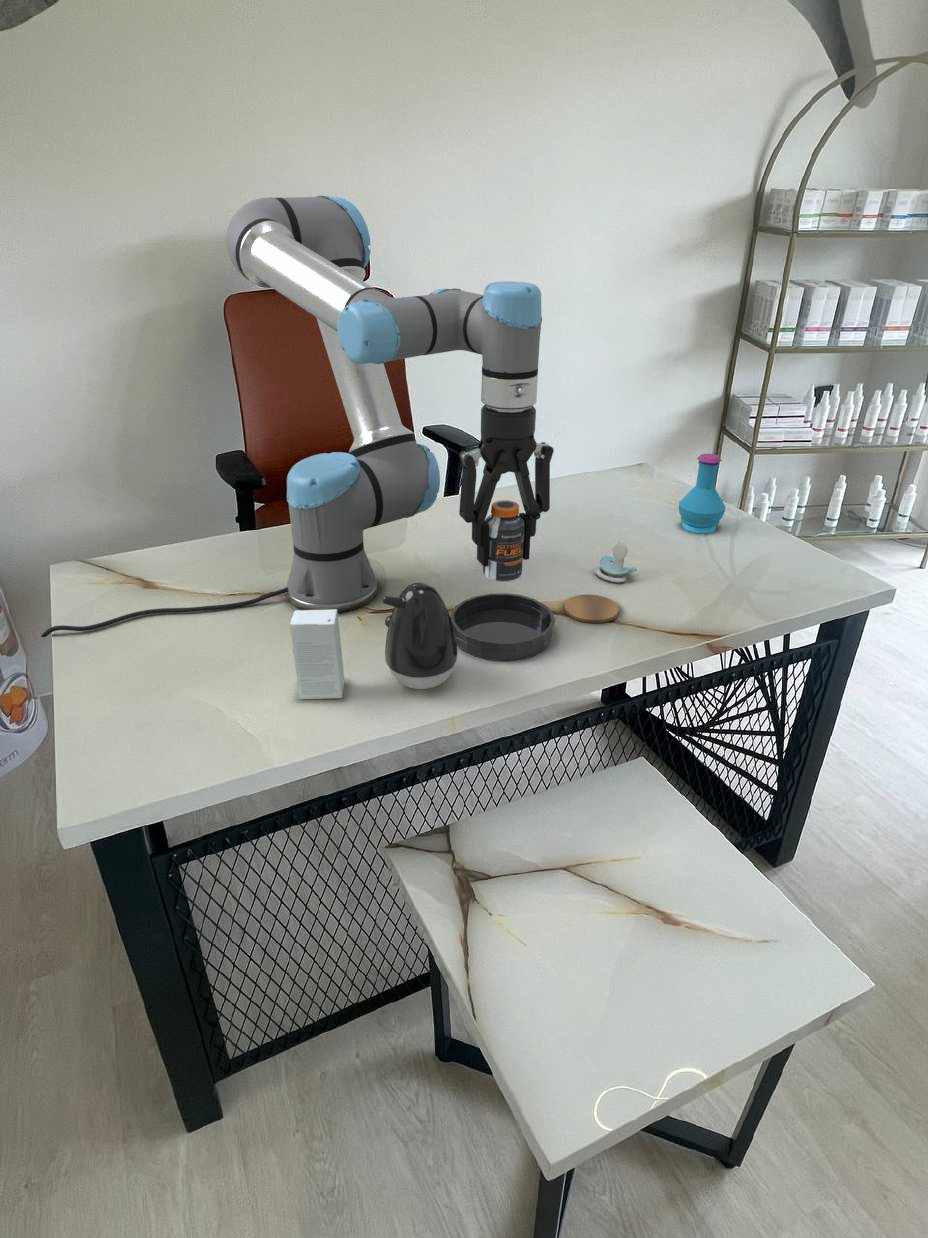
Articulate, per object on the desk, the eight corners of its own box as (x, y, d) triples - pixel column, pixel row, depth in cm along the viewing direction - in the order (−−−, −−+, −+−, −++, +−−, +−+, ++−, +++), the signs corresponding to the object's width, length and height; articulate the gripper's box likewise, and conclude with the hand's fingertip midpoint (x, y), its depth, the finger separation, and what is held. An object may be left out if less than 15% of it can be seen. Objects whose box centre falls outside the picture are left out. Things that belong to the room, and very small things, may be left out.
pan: (472, 669, 118) (472, 651, 116) (436, 618, 131) (436, 602, 130) (571, 649, 123) (572, 632, 121) (527, 602, 136) (528, 586, 135)
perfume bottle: (667, 521, 168) (676, 451, 160) (706, 516, 170) (717, 447, 163) (691, 538, 160) (702, 465, 153) (731, 532, 162) (743, 461, 155)
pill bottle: (495, 586, 118) (497, 514, 113) (475, 570, 123) (476, 500, 117) (529, 577, 121) (533, 507, 115) (508, 562, 126) (511, 493, 120)
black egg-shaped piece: (375, 669, 118) (369, 576, 110) (441, 654, 121) (439, 563, 114) (399, 706, 109) (394, 608, 102) (468, 689, 113) (469, 593, 106)
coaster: (579, 627, 129) (580, 624, 128) (554, 602, 136) (555, 599, 136) (628, 617, 131) (629, 614, 131) (601, 594, 139) (601, 590, 139)
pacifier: (617, 588, 141) (640, 578, 144) (620, 556, 138) (643, 546, 141) (587, 574, 146) (609, 564, 149) (589, 542, 143) (612, 533, 146)
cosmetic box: (345, 682, 115) (338, 608, 109) (342, 699, 111) (335, 624, 105) (302, 683, 114) (293, 609, 109) (297, 700, 111) (288, 624, 105)
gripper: (452, 418, 103) (452, 579, 115) (583, 406, 109) (570, 560, 121) (434, 404, 109) (435, 558, 121) (558, 393, 115) (548, 541, 127)
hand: (503, 558), depth 121 cm, fingers closed on pill bottle, 6 cm apart
